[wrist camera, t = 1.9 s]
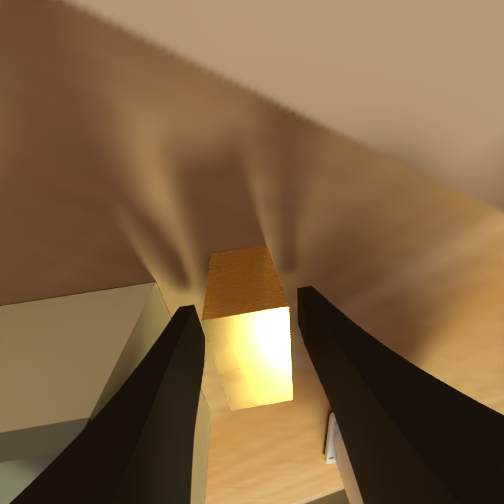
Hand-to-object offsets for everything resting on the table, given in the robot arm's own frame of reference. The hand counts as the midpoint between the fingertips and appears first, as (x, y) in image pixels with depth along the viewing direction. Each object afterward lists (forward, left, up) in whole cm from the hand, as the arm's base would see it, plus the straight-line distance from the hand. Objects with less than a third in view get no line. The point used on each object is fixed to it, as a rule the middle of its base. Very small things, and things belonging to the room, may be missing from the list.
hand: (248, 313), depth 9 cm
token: (0, 0, -2) cm, 2 cm away
